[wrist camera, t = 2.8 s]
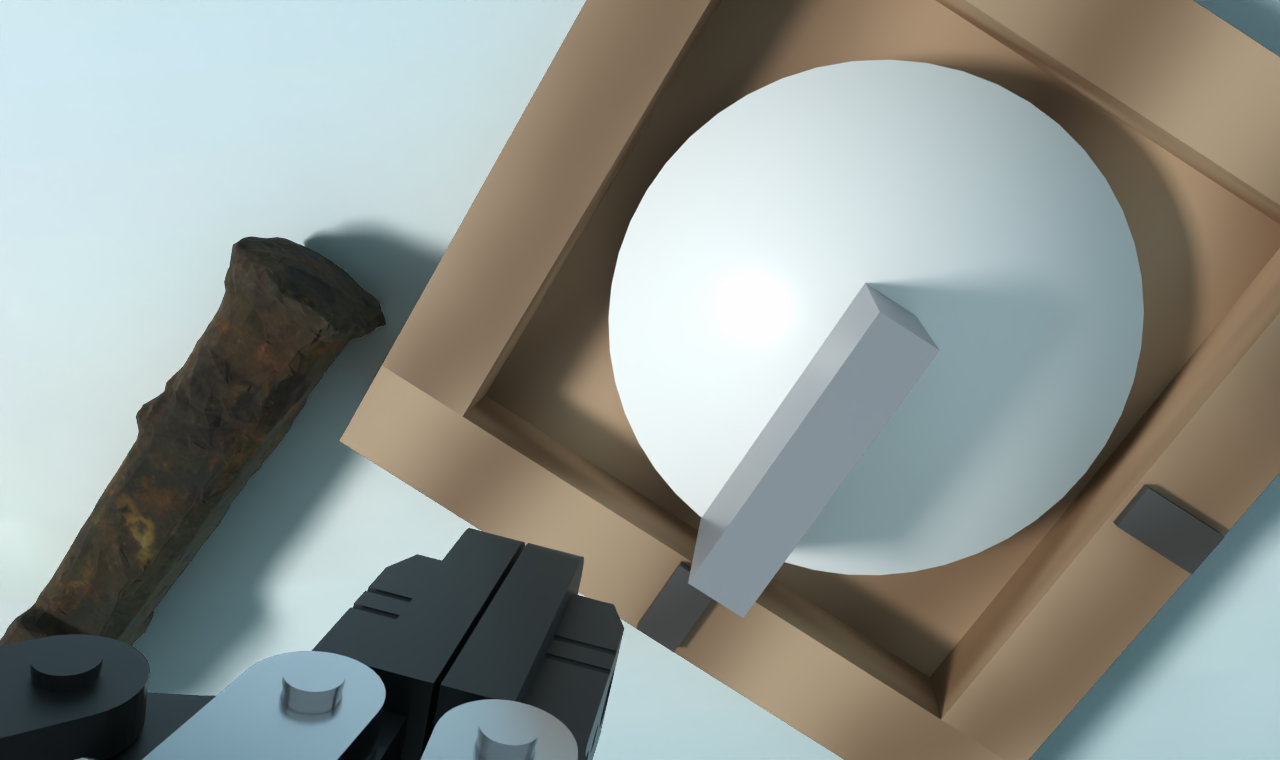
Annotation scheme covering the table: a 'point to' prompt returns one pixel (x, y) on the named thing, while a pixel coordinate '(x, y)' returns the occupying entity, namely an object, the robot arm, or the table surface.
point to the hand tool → (203, 438)
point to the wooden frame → (824, 601)
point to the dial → (872, 323)
